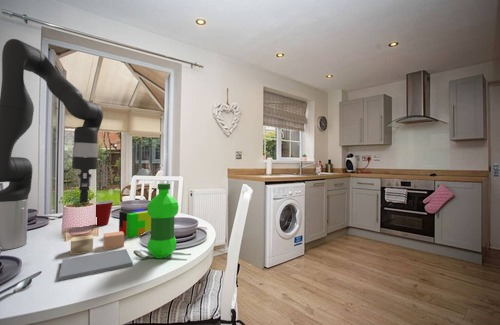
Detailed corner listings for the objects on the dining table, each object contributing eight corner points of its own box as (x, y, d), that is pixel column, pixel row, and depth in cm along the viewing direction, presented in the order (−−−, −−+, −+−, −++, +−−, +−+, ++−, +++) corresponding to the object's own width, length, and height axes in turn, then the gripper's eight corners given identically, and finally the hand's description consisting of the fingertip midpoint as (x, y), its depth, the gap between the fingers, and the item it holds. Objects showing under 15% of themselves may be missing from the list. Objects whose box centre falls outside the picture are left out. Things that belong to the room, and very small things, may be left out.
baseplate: (58, 280, 64) (59, 276, 64) (62, 262, 75) (62, 259, 75) (132, 265, 74) (132, 262, 74) (125, 251, 86) (125, 249, 86)
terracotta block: (104, 250, 87) (104, 236, 87) (103, 246, 91) (103, 233, 92) (123, 246, 91) (124, 234, 91) (122, 243, 95) (122, 231, 95)
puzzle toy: (140, 229, 115) (140, 208, 116) (151, 233, 110) (152, 211, 110) (118, 233, 107) (119, 211, 107) (130, 238, 101) (130, 214, 102)
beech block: (70, 255, 82) (70, 241, 82) (71, 250, 86) (71, 237, 86) (92, 251, 85) (93, 238, 85) (92, 247, 89) (92, 234, 89)
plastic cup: (97, 221, 128) (98, 199, 128) (117, 222, 127) (118, 200, 127) (82, 227, 117) (83, 202, 117) (104, 227, 116) (105, 203, 116)
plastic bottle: (183, 252, 87) (184, 183, 87) (164, 263, 77) (166, 185, 77) (160, 248, 90) (161, 182, 90) (139, 258, 80) (141, 184, 80)
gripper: (73, 155, 90) (71, 198, 89) (71, 155, 78) (69, 204, 78) (96, 156, 94) (95, 197, 94) (98, 156, 82) (97, 203, 82)
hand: (83, 200), depth 86 cm, fingers open, 8 cm apart
